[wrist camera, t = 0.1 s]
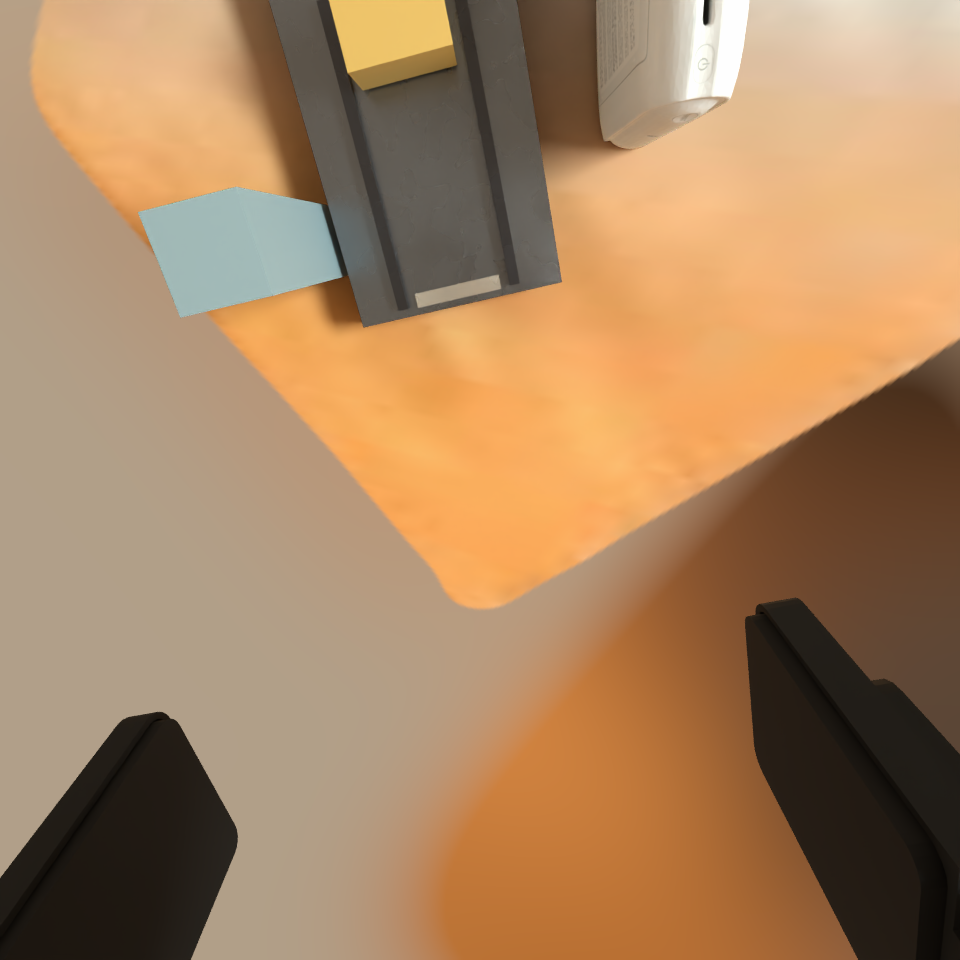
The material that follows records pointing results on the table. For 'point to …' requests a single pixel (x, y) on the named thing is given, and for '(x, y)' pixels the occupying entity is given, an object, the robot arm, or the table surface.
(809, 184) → the table surface
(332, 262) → the post
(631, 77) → the photo printer
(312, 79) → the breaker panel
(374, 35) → the block
